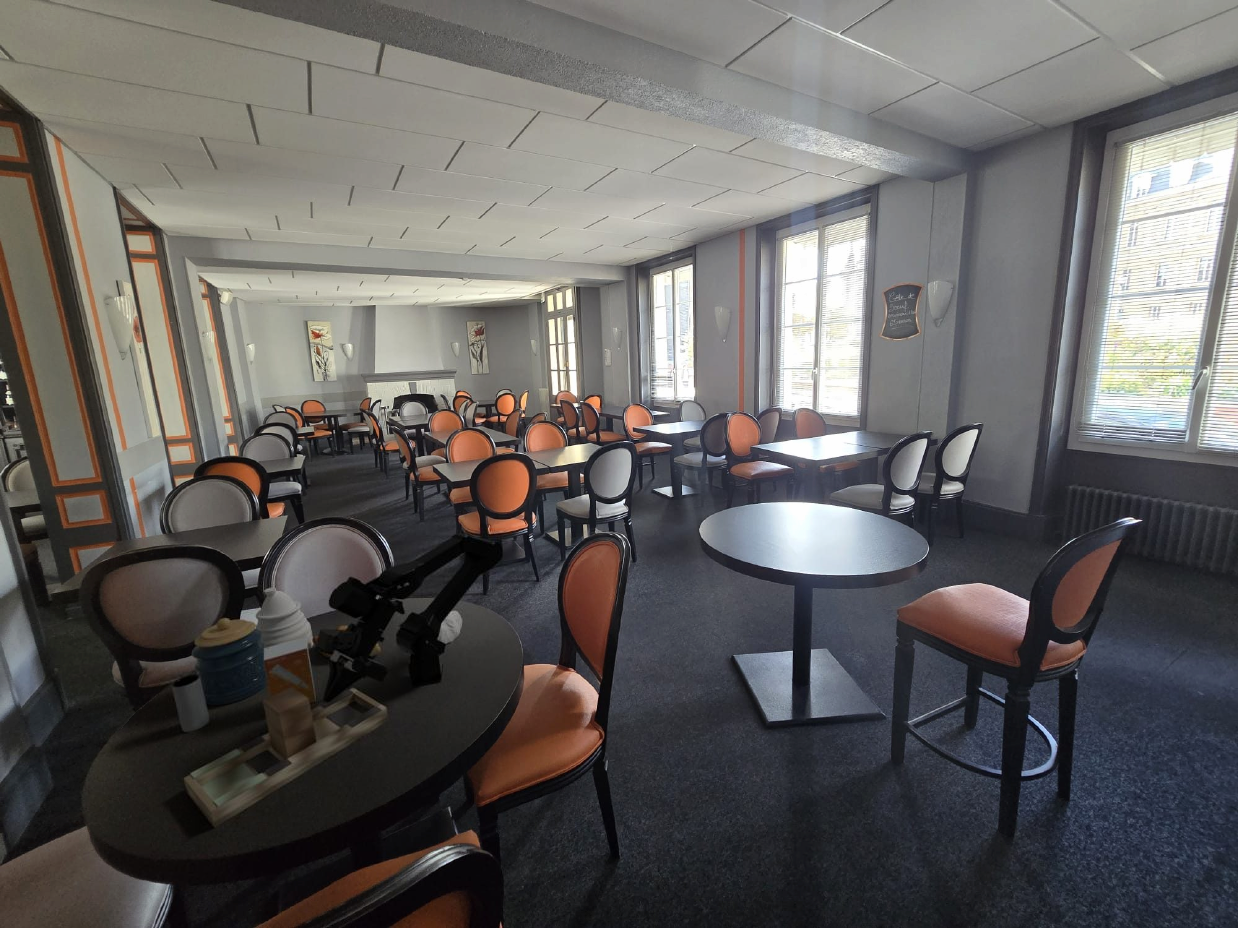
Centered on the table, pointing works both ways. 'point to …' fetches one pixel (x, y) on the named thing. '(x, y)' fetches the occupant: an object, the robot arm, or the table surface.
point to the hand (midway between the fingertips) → (325, 701)
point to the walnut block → (289, 722)
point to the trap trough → (280, 758)
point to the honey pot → (282, 620)
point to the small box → (289, 668)
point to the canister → (230, 661)
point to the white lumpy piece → (450, 627)
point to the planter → (190, 702)
